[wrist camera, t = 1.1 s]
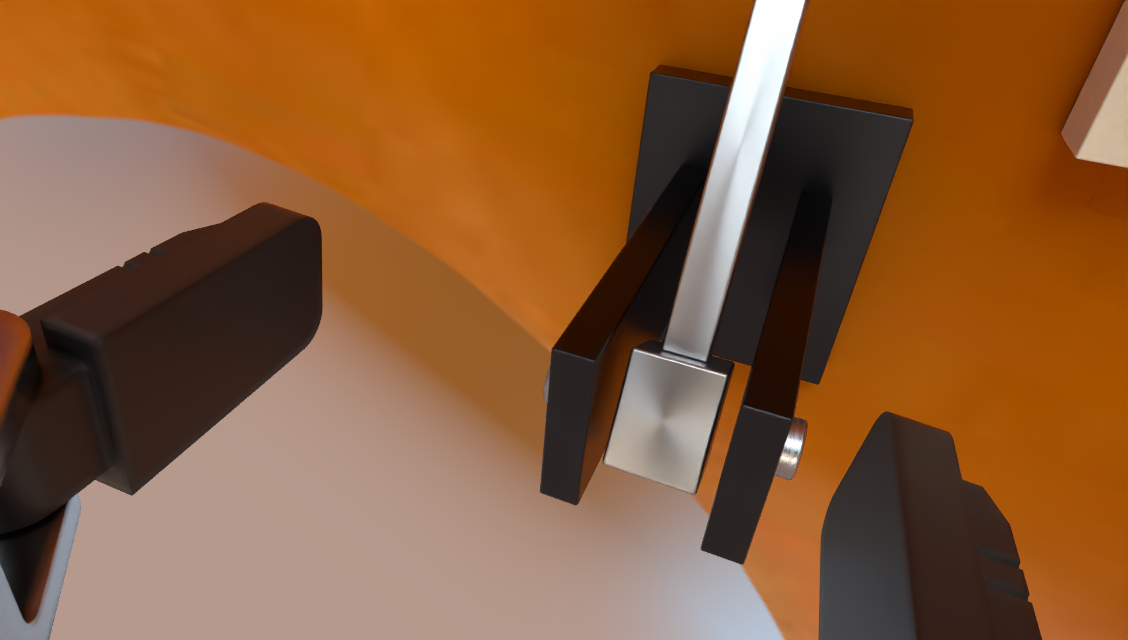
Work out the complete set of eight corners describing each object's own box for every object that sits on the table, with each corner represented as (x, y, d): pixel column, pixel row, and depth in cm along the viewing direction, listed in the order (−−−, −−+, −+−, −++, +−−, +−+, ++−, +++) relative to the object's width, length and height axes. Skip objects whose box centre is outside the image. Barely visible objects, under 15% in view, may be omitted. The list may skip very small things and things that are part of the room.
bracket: (659, 64, 24) (487, 210, 14) (913, 108, 22) (931, 320, 12) (622, 312, 29) (482, 546, 19) (821, 367, 27) (779, 661, 17)
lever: (703, -92, 17) (691, -149, 15) (922, -66, 16) (948, -125, 14) (572, 425, 19) (544, 445, 17) (761, 486, 18) (759, 517, 15)
